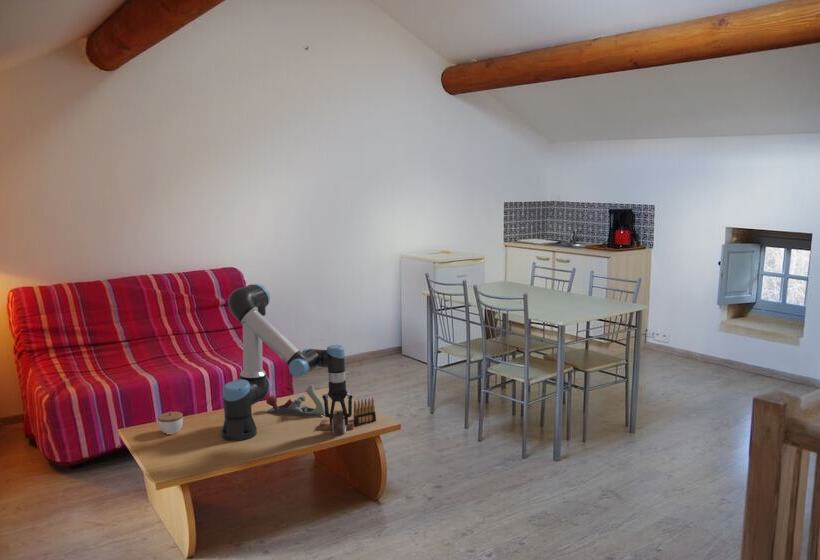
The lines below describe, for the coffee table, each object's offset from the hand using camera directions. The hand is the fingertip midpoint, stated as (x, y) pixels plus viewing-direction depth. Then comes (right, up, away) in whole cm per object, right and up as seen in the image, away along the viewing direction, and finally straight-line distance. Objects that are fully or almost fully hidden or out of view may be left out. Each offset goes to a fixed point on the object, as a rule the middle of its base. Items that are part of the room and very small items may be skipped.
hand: (339, 431), depth 314 cm
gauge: (0, 0, +2) cm, 2 cm away
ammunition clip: (+11, +1, +11) cm, 15 cm away
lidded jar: (-76, -2, +6) cm, 76 cm away
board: (-2, +1, +6) cm, 7 cm away
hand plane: (-23, +3, +27) cm, 36 cm away
